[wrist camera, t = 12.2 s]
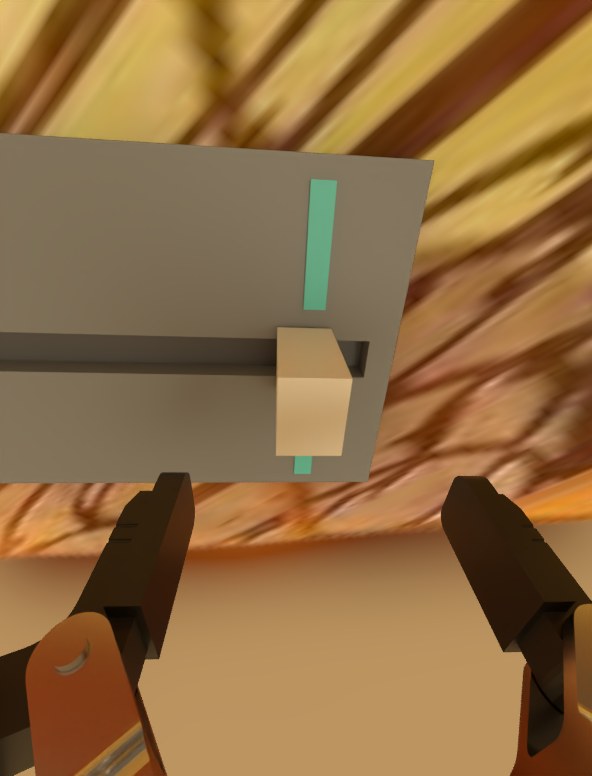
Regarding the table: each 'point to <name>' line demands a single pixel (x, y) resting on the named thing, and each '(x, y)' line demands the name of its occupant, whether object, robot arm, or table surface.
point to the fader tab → (310, 393)
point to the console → (190, 303)
